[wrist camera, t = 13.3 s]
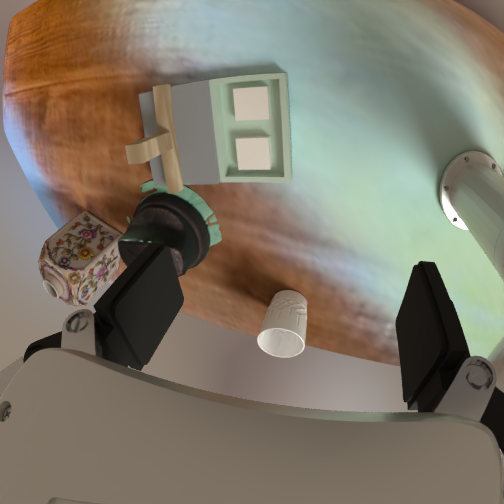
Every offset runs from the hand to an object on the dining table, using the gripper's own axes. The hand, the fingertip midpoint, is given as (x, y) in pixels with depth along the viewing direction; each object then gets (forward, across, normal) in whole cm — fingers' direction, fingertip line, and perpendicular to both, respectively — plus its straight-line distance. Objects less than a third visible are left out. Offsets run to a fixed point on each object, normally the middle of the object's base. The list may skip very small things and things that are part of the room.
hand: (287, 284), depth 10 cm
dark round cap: (+31, +26, +16) cm, 43 cm away
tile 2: (+28, +8, +2) cm, 30 cm away
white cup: (+31, +4, +30) cm, 43 cm away
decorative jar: (+31, +45, +19) cm, 58 cm away
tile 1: (+28, +8, -5) cm, 30 cm away
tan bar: (+27, +20, -1) cm, 34 cm away
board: (+30, +19, -2) cm, 36 cm away
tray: (+30, +8, -2) cm, 32 cm away
